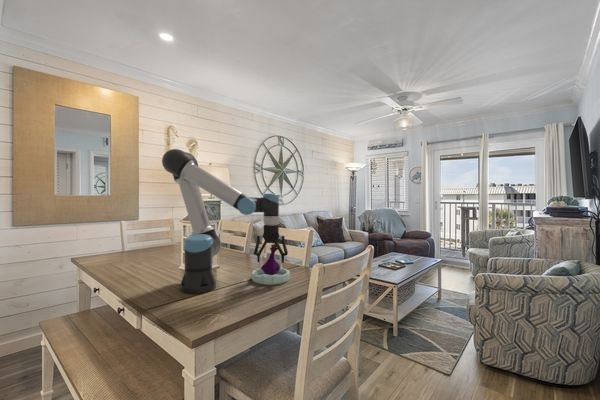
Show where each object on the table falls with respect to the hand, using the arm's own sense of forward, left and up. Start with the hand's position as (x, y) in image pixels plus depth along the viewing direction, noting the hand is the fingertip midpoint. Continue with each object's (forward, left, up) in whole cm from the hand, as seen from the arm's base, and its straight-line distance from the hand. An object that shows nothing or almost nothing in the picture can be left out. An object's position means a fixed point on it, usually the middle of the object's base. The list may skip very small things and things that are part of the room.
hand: (270, 268), depth 145 cm
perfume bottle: (0, +1, -3) cm, 3 cm away
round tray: (0, 0, -5) cm, 5 cm away
